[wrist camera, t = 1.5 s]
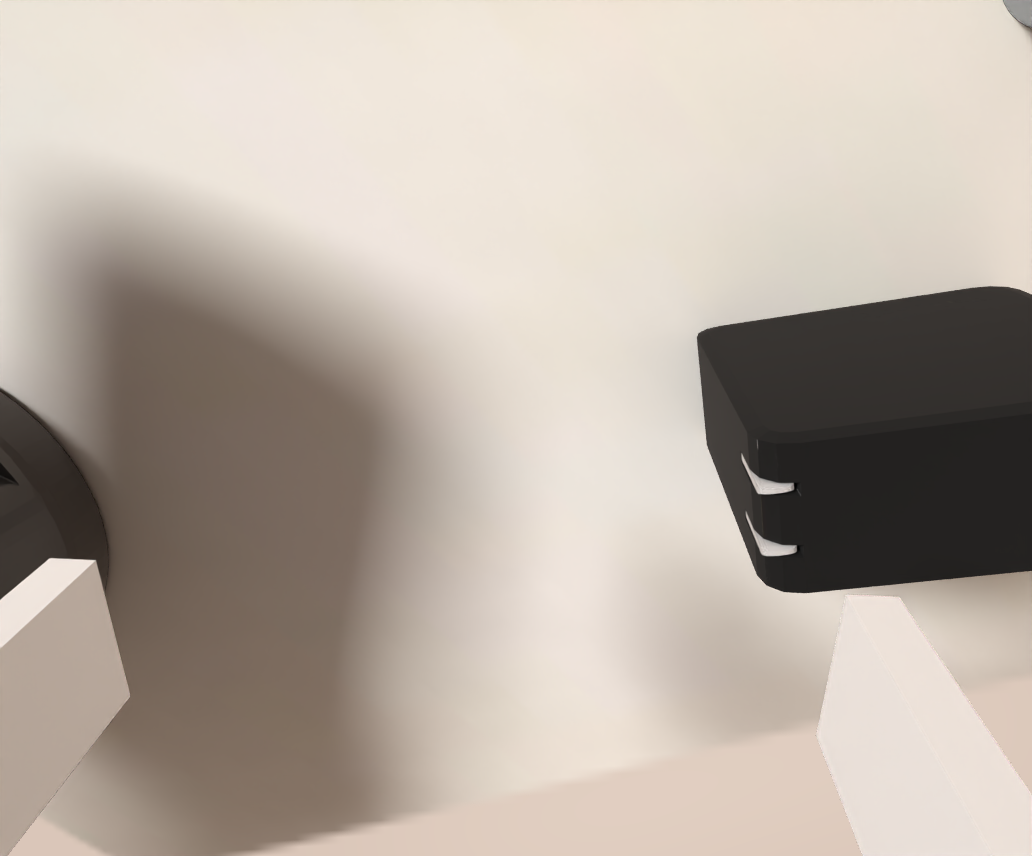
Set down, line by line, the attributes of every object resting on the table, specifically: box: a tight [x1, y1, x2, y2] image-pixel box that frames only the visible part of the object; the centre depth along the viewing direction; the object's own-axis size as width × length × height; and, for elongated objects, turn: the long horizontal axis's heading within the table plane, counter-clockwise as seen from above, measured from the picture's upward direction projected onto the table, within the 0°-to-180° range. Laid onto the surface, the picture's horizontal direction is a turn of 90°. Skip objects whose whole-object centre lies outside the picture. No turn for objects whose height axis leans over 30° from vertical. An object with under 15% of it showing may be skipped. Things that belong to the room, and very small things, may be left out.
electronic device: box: [697, 286, 1032, 593], centre depth 21 cm, size 4×10×10 cm, turn 100°
